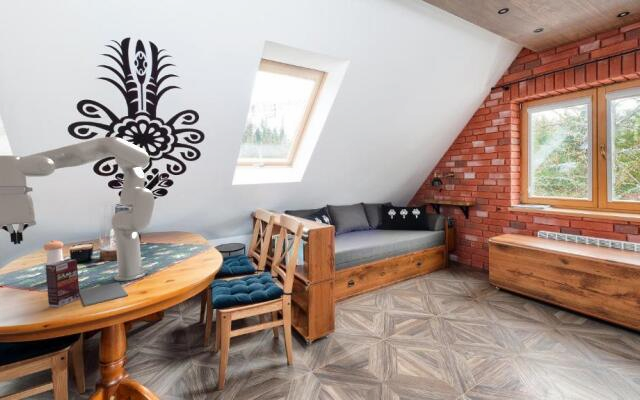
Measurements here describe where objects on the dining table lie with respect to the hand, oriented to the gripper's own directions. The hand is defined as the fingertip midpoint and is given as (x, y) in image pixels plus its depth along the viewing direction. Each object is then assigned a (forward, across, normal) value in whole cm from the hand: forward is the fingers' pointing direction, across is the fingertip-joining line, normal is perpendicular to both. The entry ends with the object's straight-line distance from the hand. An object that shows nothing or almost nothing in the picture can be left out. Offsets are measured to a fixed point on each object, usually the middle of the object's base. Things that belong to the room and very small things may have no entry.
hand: (17, 243), depth 109 cm
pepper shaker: (+25, -11, -34) cm, 44 cm away
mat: (+25, -24, 0) cm, 34 cm away
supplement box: (+25, -12, 0) cm, 28 cm away
